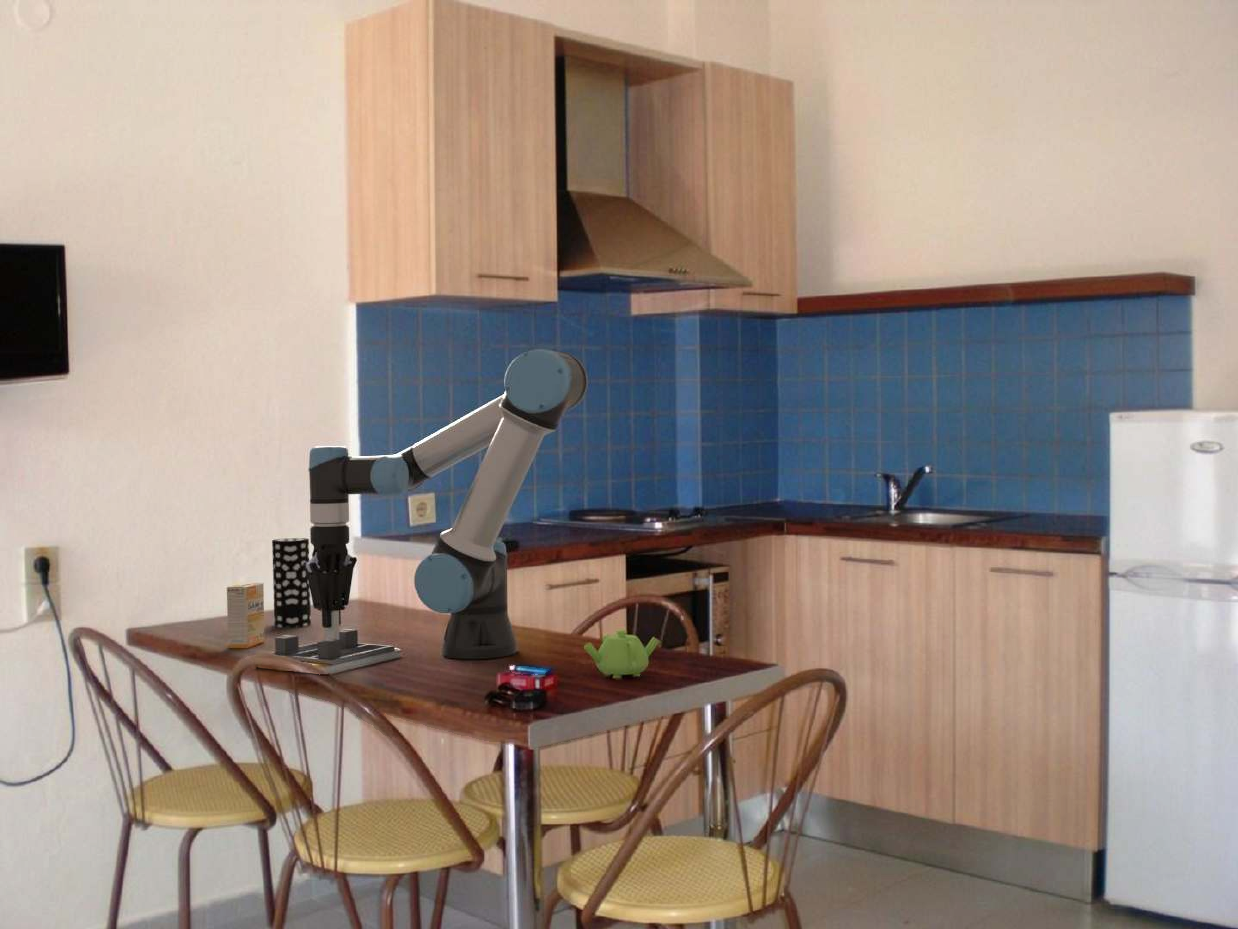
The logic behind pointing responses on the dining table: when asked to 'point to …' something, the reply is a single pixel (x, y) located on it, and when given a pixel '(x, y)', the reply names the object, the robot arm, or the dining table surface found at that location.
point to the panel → (346, 656)
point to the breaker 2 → (329, 649)
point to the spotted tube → (291, 583)
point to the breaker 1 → (286, 645)
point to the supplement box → (245, 615)
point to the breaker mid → (348, 638)
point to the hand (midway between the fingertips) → (331, 643)
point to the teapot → (622, 654)
